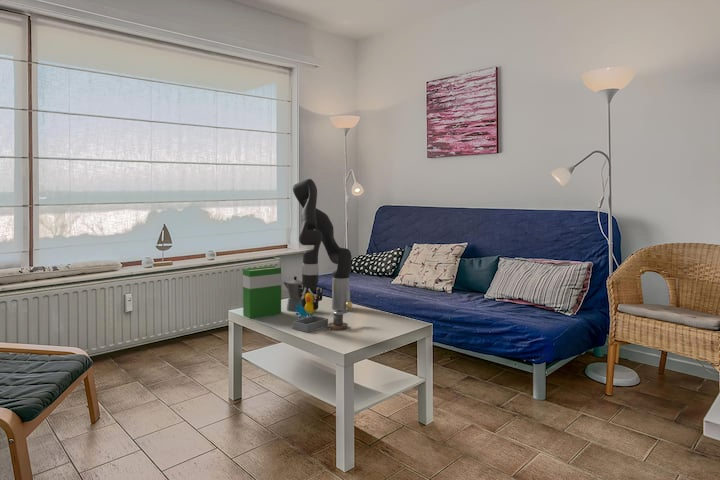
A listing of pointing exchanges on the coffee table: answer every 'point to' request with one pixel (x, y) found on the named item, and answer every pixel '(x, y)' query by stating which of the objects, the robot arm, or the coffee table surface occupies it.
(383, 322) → the coffee table surface
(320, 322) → the tray
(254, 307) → the green box
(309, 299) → the duckling
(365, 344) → the coffee table surface
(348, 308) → the crank
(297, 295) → the coffeepot
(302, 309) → the gear
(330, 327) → the base
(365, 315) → the coffee table surface
